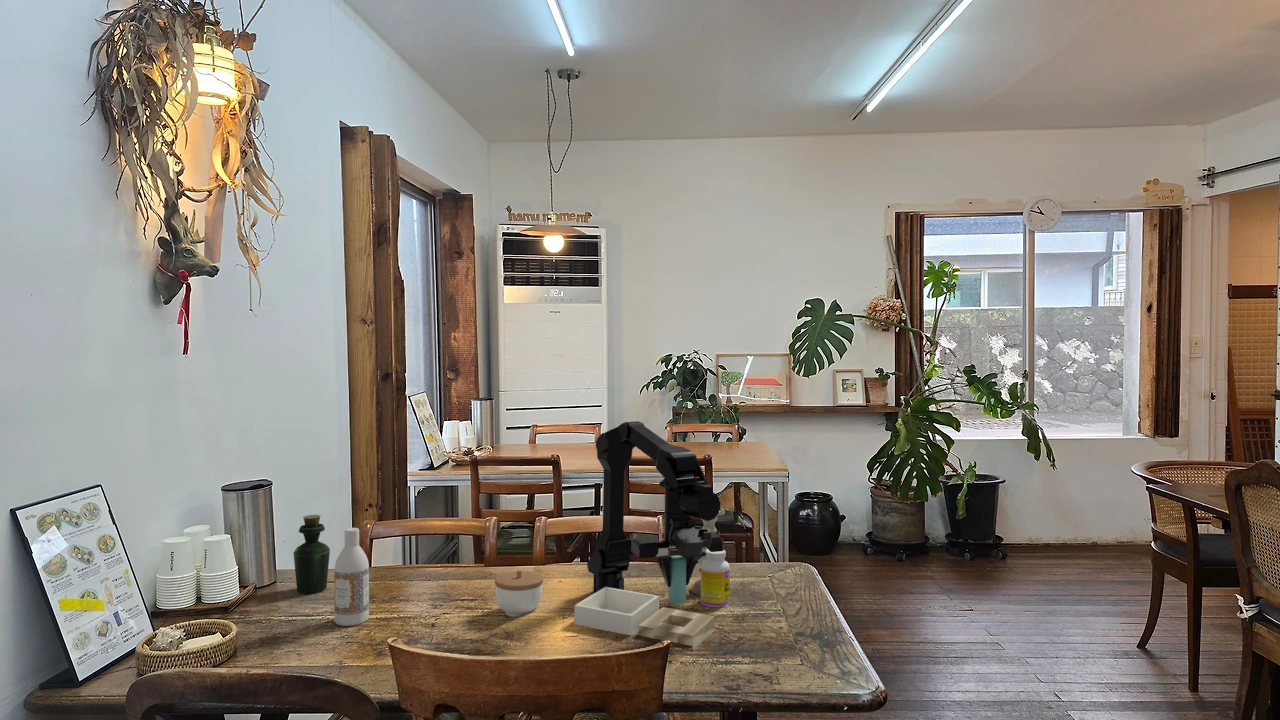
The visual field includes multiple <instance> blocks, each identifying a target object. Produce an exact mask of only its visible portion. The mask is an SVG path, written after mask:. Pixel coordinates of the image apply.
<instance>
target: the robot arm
mask: <svg viewBox="0 0 1280 720" xmlns="http://www.w3.org/2000/svg"><path fill="white" fill-rule="evenodd" d="M595 448H596V449H595V450H596V456H597V460H598V461H599V463H600V465H601V467H602V468H603V494H602V497H603V499H602V501H603V502H602V529H601V532H600V534H599V535H598V537H597V538H596V540H595V545H594V547H595V548H594V551H593V553H592V555H591V556H590V558H589V559H588V560H587V562H586V566H587V572H589V573H591V574H593V589H592V590H593V594H594V593H596V592H598V591H599V590H601V589H603V588H604V587H609V588H615V589H621V590H625V578H624V577H623V572H624V571H625V572H626V571H628V570H629V567H630V562H631V558H632V556H633V554H634V555H635V556H637V558H639V559H650V558H654V559H655V560H656V561H657V564H658V566H659V568H660V571H661V574H662V576H663V577H662V578H664V579H663V580H664V582H665V585H666V586H667V588H669V587H670V584H671V574H670V562H671V559H672V557H671V555H669V550H670V551H671V550H677V552H678V555H679V556H684V557H686V586H688V585H689V583H690V580H691V578H692V575H693V573H694V570H695V567H696V565H697V563H698V560H699V559H700V558H701V557H703V556H706V553H705V552H704V548H705V547H707V549H708V550H709V551H710V552H718V551H723V550H725V549H724V548H725V547H724V546H725V542H724V539H723V538H722V537H721V536H720V535H718V534H717V533H716V532H715V533H713V532H711V531H710V530H709V529H708V528H707V529H702V528H700V529H699V528H698V529H697V528H696V524H695V518H697V519H699V520H701V519H702V520H705V521H711V520H713V519H714V518H715V517H716V516H717V515H718V513H719V511H720V508H721V501H720V498H719V496H718V495H717V493H715V492H713V485H710V484H708V482H707V479H706V475H705V473H704V472H703V470H702V467H701V465H700V462H699V460H698V458H697V455H696V453H695V452H694V451H693V450H690V449H689V448H686V447H683V446H678V445H674V444H672V443H671V444H670V443H669V442H668V441H667V440H666V439H665V440H664V439H663V438H662V437H660V435H657V434H656V433H655V432H653V431H652V429H651V430H650V429H649V428H648V427H646V426H645V424H644V423H643V422H641V421H639V420H638V421H625V422H622V423H621V424H620V425H618V426H617V427H614V428H612V429H610V430H607V431H606V432H602V433H601V434H600V435H599V436H598V437H597V438H596V441H595ZM635 448H637V449H638V450H639V451H641V452H642V453H644V454H645V455H646V456H647V457H649V458H650V459H651V460H653V462H654V463H655V469H656V470H657V471H658V473H659V474H660V475H661V476H662V477H663V479H662V480H661V481H659V483H658V485H659V487H661V488H664V509H663V510H664V513H662V518H661V519H663V521H664V524H663V525H664V526H663V527H664V528H663V532H662V533H661V538H662V539H663V540H658V541H656V540H654V539H653V538H652V537H650V536H645V537H634V538H633V540H631V538H629V537H628V536H627V534H626V533H625V531H624V526H625V525H624V519H625V517H624V516H625V514H624V513H625V477H626V475H625V471H626V469H627V467H628V465H629V464H630V462H631V460H632V457H633V450H634V449H635ZM702 520H701V521H702Z"/></svg>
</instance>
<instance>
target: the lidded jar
mask: <svg viewBox="0 0 1280 720" xmlns="http://www.w3.org/2000/svg"><path fill="white" fill-rule="evenodd" d="M543 583H544V576H543V575H542V574H541V573H538V572H535V571H527V570H520V569H518V570H516V571H508V572H505V573H501V574H499V575H498V576H496V577H495V578H494V584H495V587H494V589H495V597H496V602H497V604H498V606H499V608H500V609H501V610H502V611H503V612H504V613H505V615H506V616H508V617H513V618H518V617H520V616H522V615H524V614H527V613H531V612H532V611H534V610H536V608H538V605H539V604H540V602H541V599H542V597H543V596H542V595H543Z"/></svg>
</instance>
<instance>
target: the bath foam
mask: <svg viewBox="0 0 1280 720" xmlns="http://www.w3.org/2000/svg"><path fill="white" fill-rule="evenodd" d="M333 576H334V584H333V585H334V587H333V588H334V594H333V595H334V602H333V603H334V608H333V609H334V623H335V624H336V625H338V626H341V627H353V626H357V625H362V624H363V623H365V622H367V621H368V620H369V618H370V613H369V612H370V565H369V559H368V557H367V555H366V553H365V551H364V550H363V548H362V547H361V546H360V529H359V528H358V527H349V528H345V529H344V547H343V548H342V550H341V551H340V553H339V554H338V556H337V558H336V561H335V565H334V575H333Z"/></svg>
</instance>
